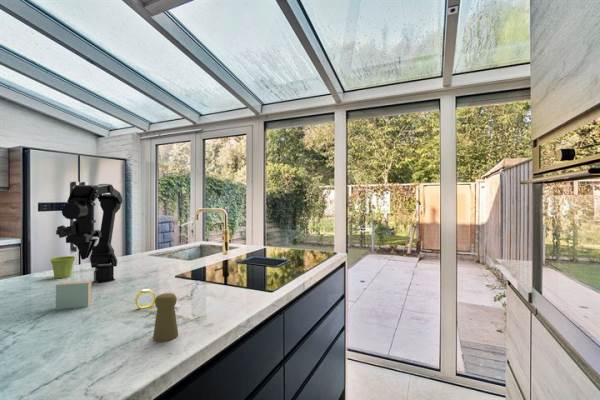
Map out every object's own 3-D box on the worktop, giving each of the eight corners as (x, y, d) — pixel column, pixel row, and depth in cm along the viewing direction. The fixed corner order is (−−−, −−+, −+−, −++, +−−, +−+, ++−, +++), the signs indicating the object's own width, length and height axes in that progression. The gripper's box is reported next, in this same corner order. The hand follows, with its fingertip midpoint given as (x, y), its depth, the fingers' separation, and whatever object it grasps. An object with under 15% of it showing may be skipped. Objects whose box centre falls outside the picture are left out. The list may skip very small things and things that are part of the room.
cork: (158, 331, 83) (158, 291, 83) (181, 331, 83) (181, 290, 83) (149, 342, 77) (149, 298, 77) (173, 341, 77) (174, 297, 77)
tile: (59, 306, 102) (59, 282, 102) (91, 303, 105) (91, 280, 105) (55, 309, 99) (55, 284, 99) (88, 306, 102) (88, 282, 102)
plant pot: (80, 275, 144) (80, 256, 144) (59, 280, 135) (59, 260, 135) (66, 273, 147) (66, 255, 147) (44, 278, 138) (44, 259, 138)
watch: (153, 305, 104) (155, 287, 104) (155, 307, 102) (157, 289, 102) (134, 307, 100) (135, 289, 101) (135, 310, 98) (137, 291, 98)
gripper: (69, 216, 123) (69, 255, 123) (47, 219, 106) (47, 264, 106) (101, 216, 127) (101, 254, 127) (85, 219, 109) (85, 263, 109)
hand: (84, 258), depth 117 cm, fingers open, 3 cm apart
